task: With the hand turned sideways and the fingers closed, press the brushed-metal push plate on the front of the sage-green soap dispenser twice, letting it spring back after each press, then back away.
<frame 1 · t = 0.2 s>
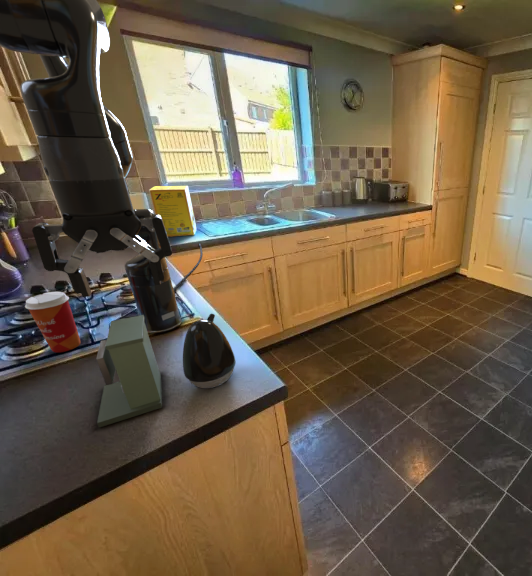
hand: (123, 288, 49), 29 cm above the worktop, tool pointing down, fingers open, 8 cm apart
push plate: (106, 361, 63), point 10 cm above the worktop, slide at -0.1 cm
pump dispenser: (214, 380, 74), on the worktop
paper cup: (67, 347, 84), on the worktop
packaging box: (179, 233, 188), on the worktop
dispenser housing: (133, 398, 68), on the worktop
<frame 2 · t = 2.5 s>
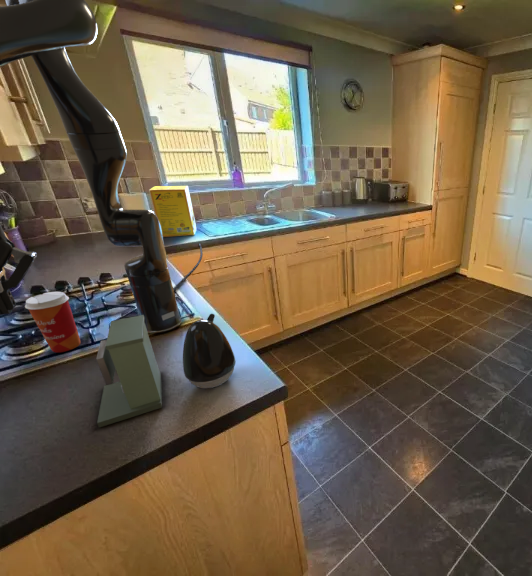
hand: (4, 312, 54), 23 cm above the worktop, tool pointing down, fingers closed
nothing on the worktop moved.
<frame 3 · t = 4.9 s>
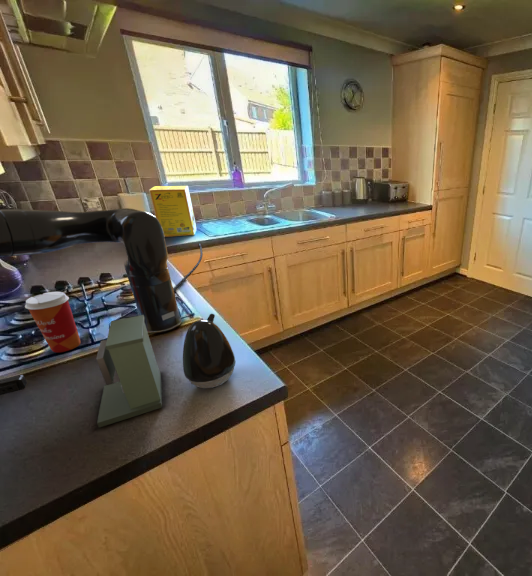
hand: (24, 381, 57), 10 cm above the worktop, tool horizontal, fingers closed
nothing on the worktop moved.
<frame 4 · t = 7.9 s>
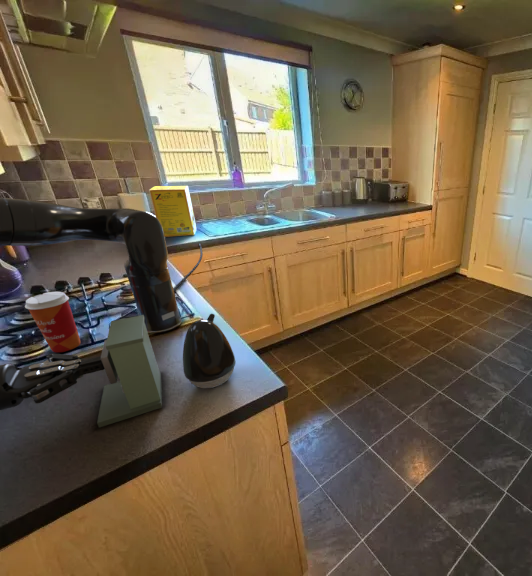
hand: (107, 361, 63), 10 cm above the worktop, tool horizontal, fingers closed
push plate: (110, 360, 63), point 10 cm above the worktop, slide at 0.5 cm, touching gripper
everything else where it was.
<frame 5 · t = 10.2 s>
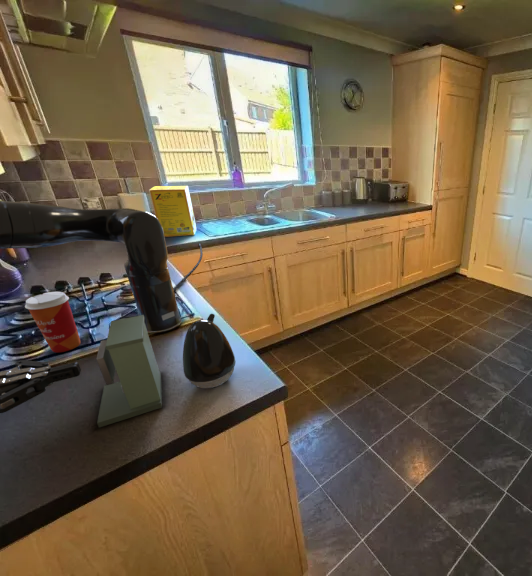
hand: (79, 368, 61), 10 cm above the worktop, tool horizontal, fingers closed
push plate: (106, 361, 63), point 10 cm above the worktop, slide at -0.1 cm
everything else where it was.
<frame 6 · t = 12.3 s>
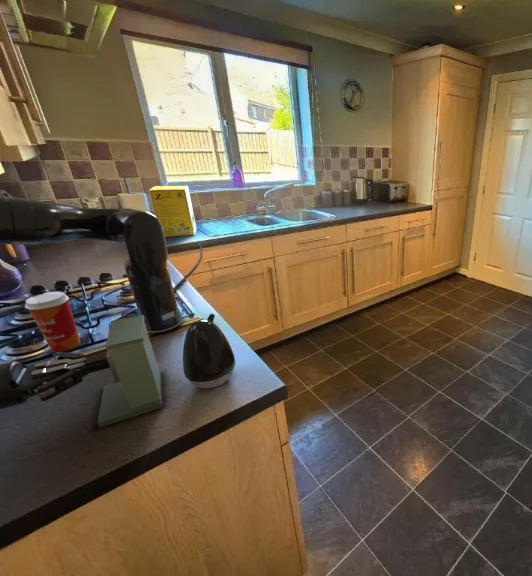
hand: (112, 360, 64), 10 cm above the worktop, tool horizontal, fingers closed
push plate: (115, 359, 64), point 10 cm above the worktop, slide at 1.3 cm, touching dispenser housing, gripper
everything else where it was.
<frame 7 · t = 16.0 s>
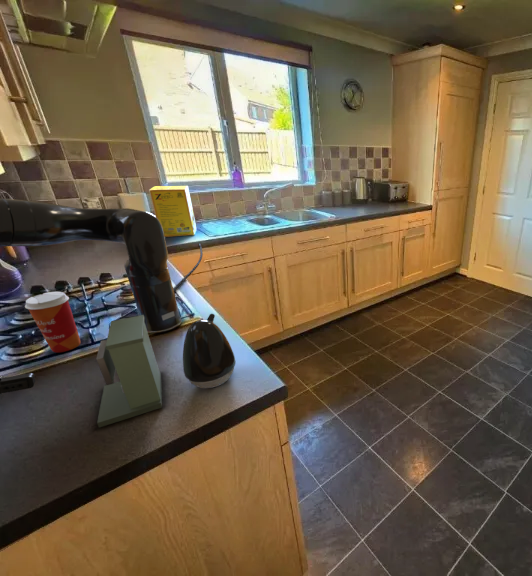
hand: (33, 379, 58), 10 cm above the worktop, tool horizontal, fingers closed
push plate: (106, 361, 63), point 10 cm above the worktop, slide at -0.1 cm
everything else where it was.
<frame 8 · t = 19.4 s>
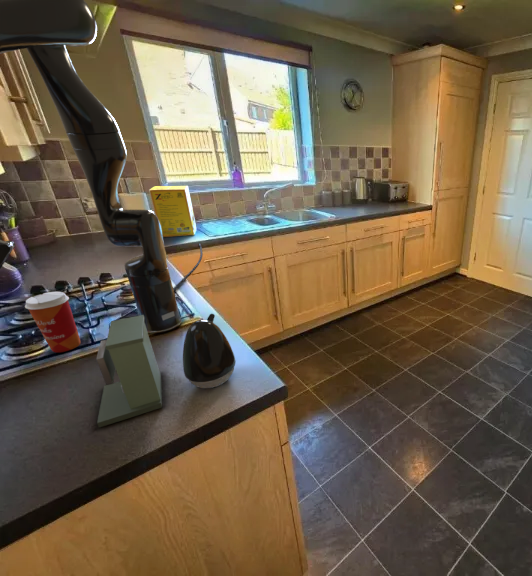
nothing on the worktop moved.
at the end: push plate pulled out 1.3 cm at the most during the clip, back to where it started at the end; push plate slide at -0.1 cm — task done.
